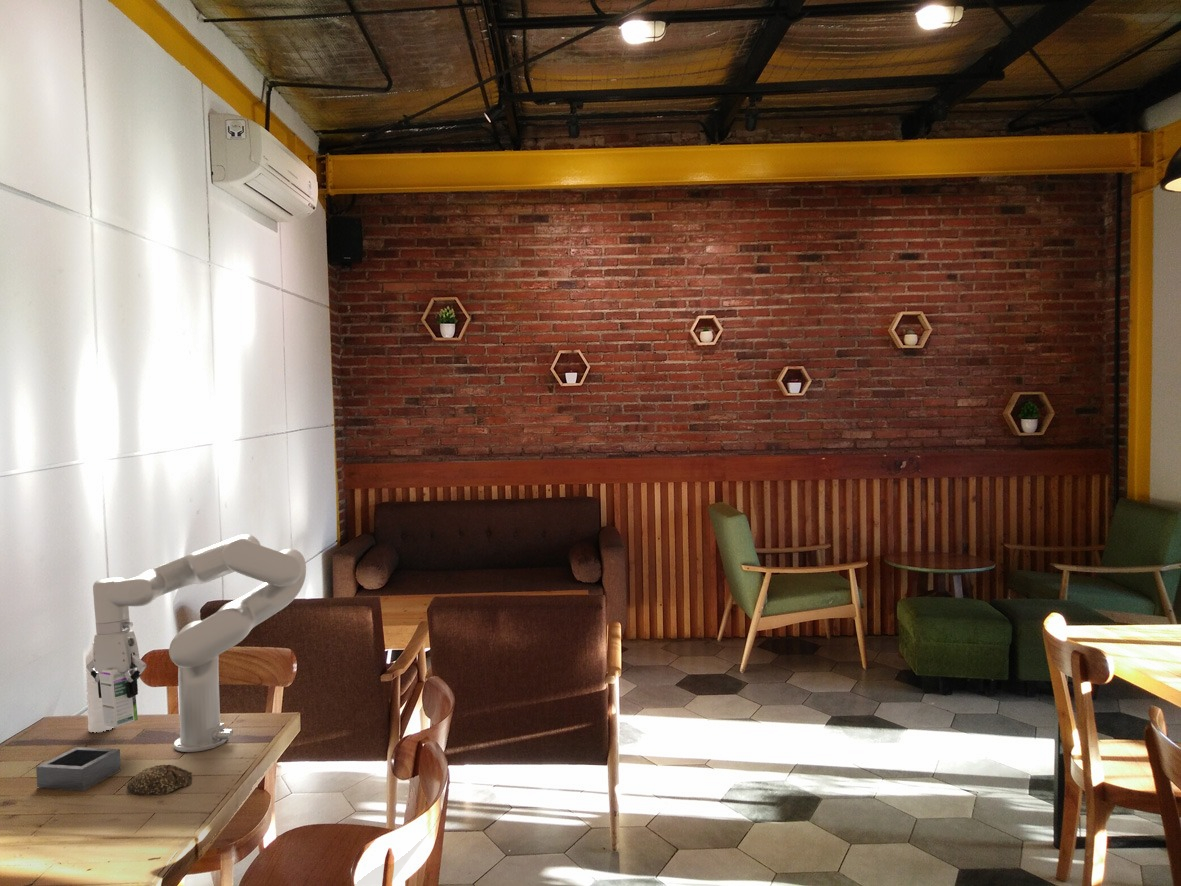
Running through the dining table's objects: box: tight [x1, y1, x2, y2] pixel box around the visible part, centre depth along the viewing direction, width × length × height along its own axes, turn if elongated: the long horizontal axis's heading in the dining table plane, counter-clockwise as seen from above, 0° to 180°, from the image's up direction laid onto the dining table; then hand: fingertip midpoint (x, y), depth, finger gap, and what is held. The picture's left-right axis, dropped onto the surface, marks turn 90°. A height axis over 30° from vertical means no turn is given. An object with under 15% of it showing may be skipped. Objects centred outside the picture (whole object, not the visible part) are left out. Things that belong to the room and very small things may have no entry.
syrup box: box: [99, 666, 139, 729], centre depth 220 cm, size 6×6×14 cm
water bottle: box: [85, 641, 115, 734], centre depth 236 cm, size 9×6×25 cm
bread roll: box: [126, 764, 193, 797], centre depth 199 cm, size 13×12×5 cm
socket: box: [35, 746, 122, 792], centre depth 204 cm, size 12×12×5 cm
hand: (118, 695), depth 220 cm, fingers closed on syrup box, 7 cm apart
